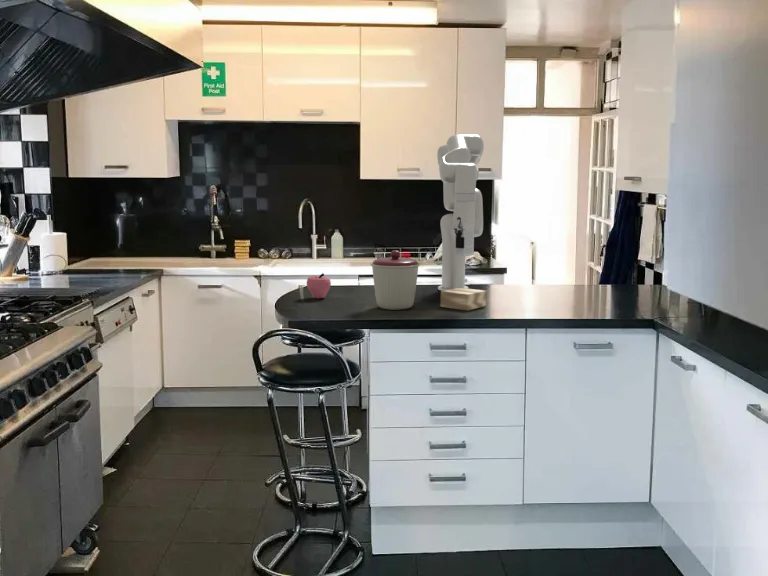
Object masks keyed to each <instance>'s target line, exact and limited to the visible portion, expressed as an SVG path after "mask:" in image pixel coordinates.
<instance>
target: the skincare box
mask: <svg viewBox="0 0 768 576" xmlns="http://www.w3.org/2000/svg"><path fill="white" fill-rule="evenodd" d="M459 228H461V229H463V227H459ZM461 233H462V231H461ZM463 237H464V248H456V237H455V256H465V257H468V256H469V257H470V256H474V255H475V250H474V249H475V237H474V223H471V226H470V228H469V229H467V230H465V232H464V236H463Z"/></svg>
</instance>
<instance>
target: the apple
mask: <svg viewBox="0 0 768 576" xmlns="http://www.w3.org/2000/svg"><path fill="white" fill-rule="evenodd" d="M331 283H332V281H331V279H330V278H328V277H326V276H325V274H324V272H322V273H321V274H320V275H312V276H308V277H307V279H306V286H307V289H308V290H309V292H310V294H311V295H312V297H313V298H314V299H323V298H326V296H327V294H328V292H329V290H330V289H331V285H332V284H331Z"/></svg>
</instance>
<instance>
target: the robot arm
mask: <svg viewBox="0 0 768 576" xmlns="http://www.w3.org/2000/svg"><path fill="white" fill-rule="evenodd" d="M484 147H485V146H484V140H483V138H482V137H481V136H480V135H479V134H464V133H463V134H461V133H460V134H453V135H451V136H450V137H448V139H447V141H446V144H443V145H441V146H439V147H438V148H437V155H436V156H437V164H438V167H439V168H438V169H439V177H440V180H441V181H442V182H443V183H442V184H443V186H442V187H443V189H442V190H443V206H444V208H445V210H447V211H449V212H453V213H446V214H445V215H443V216H442V217H441V219H440V223H439V224H440V232H441V239H442V240H441V246H442V247H441V248H442V249H441V253H442V256H441V285H439V286H437V290H439V291H440V292H441V291H444V290H450V289H455V288H468V289H469V286H467V285H465V284H466V283H467V282H468V279H467V278H466V256H455V237H456V248H464V237H463V236H464V232H465V230H467V229H469V228H470V226H471V223H474V238H477V237H480V236H482V234H483V231H484V206H483V195H482V192H481V190H480V189H478V188H477V186H476V185H477V181H478V179H479V176H480V175H479V173H480V171H479V167H478V166H477V165H478V164H479V163H480V161H481V158H482V156H483V153H484V149H485V148H484ZM459 227H463V229H461V228H459ZM461 231H462V233H461Z"/></svg>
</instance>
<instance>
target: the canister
mask: <svg viewBox="0 0 768 576" xmlns="http://www.w3.org/2000/svg"><path fill="white" fill-rule="evenodd" d="M389 255H390V257H380V258H377V259H374V260H373V261H372V262H370V263H369V265H370V266H371V267H372V268H371V269H372V275H373V276H372V277H373V287H374V294H375V301H376V304H377V307H379V308H381V309H384V310H389V311H400V310H401V311H403V310H407V309H410V308H411V307H413V305H414V302H415V297H416V289H417V281H418V273H419V267H420V266H421V263H420V262H419V261H417V260H416V259H414V258H409V257H401V252H400V251H399V250H392V251H391V252H390V254H389Z"/></svg>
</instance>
